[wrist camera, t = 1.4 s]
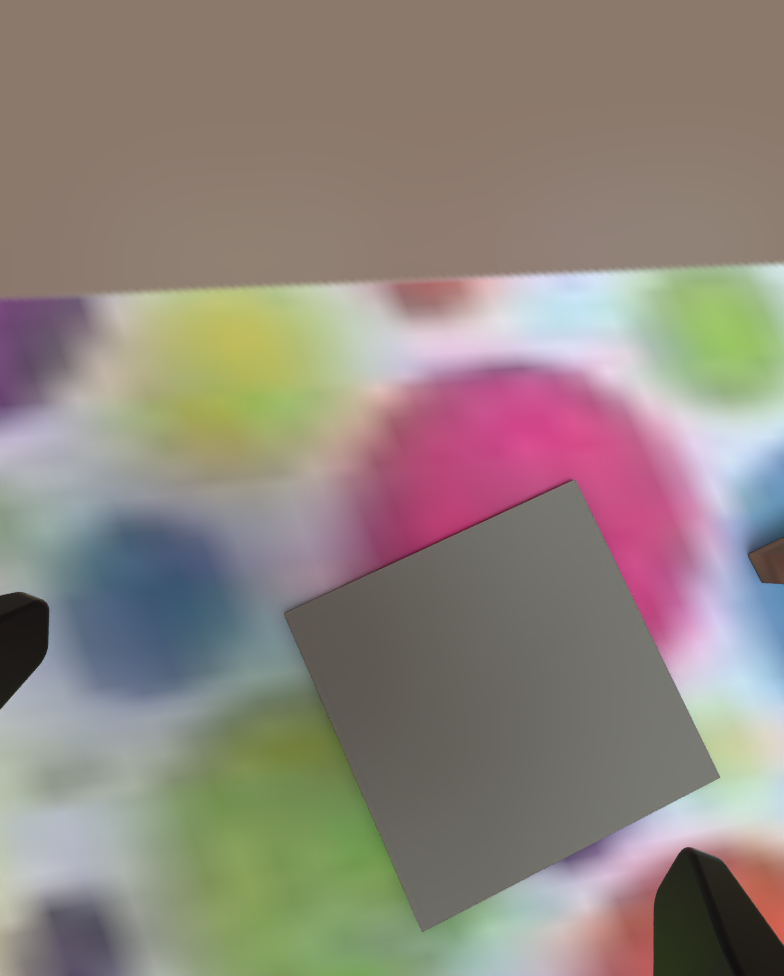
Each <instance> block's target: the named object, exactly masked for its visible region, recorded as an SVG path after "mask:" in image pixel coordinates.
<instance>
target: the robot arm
mask: <svg viewBox="0 0 784 976" xmlns="http://www.w3.org/2000/svg"><path fill="white" fill-rule="evenodd" d="M48 635H49V607H48V604H47V602H45V601H44V600H42V599H40V598H37V597H35V596H32V595H29V594H27V593H23V592H15V593H10V594H6V595H1V596H0V709H1V708H2V707H3V706H4V705H5V704H6V702H7V701H8V700H9V699H10V698H11V697H12V696H13V695H14V693H15V692H16V691H17V690H18V689H19V688H20V687H21V685H22V684H23V683H24V682H25V681H26V680H27V679H28V677H29V676H30V675H31V674H32V673H33V672H34V671H35V670H36V668H37V667H38V666H39V665H40V664H41V662H42V661H43V659H44V657H45V655H46V652H47V649H48ZM653 976H784V945H783V944H782V942H781V941H780V940H779V938H778V937H777V935H776V934H775V933H774V931H773V930H772V929H771V927H770V926H769V924H768V923H767V922H766V920H765V919H764V917H763V916H762V915H761V913H760V912H759V910H758V909H757V908H756V906H755V905H754V903H753V902H752V901H751V899H750V898H749V897H748V895H747V894H746V892H745V891H744V890H743V888H742V887H741V885H740V884H739V883H738V881H737V880H736V878H735V877H734V876H733V874H732V873H731V871H730V870H729V869H728V867H727V866H726V865H725V864H724V862H723V861H721V860H720V859H719V858H717V857H715V856H712V855H710V854H707V853H705V852H702V851H699V850H697V849H694V848H691V847H687V848H684V849H683V850H681V852H680V853H679V854H678V856H677V858H676V859H675V861H674V863H673V864H672V866H671V868H670V869H669V871H668V873H667V874H666V876H665V878H664V879H663V881H662V883H661V885H660V886H659V888H658V890H657V893H656V897H655V902H654V934H653Z"/></svg>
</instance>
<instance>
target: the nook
mask: <svg viewBox="0 0 784 976" xmlns="http://www.w3.org/2000/svg"><path fill="white" fill-rule="evenodd" d="M748 556H749V558H750V560H751V562H752V564H753V566H754V568H755V570H756V572H757V574H758V575H759V577H760V579H761V581H762V583H773V584H784V537H783V538H780V539H778V540H776V541H774V542H772V543H770V544H768V545H766V546H764V547H762V548H760V549H758V550H756V551H754V552H752V553H750V554H748Z"/></svg>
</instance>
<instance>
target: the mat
mask: <svg viewBox="0 0 784 976" xmlns="http://www.w3.org/2000/svg"><path fill="white" fill-rule="evenodd" d="M284 615H285V618H286V620H287V622H288V625H289V627H290V629H291V632H292V634H293V636H294V638H295V641H296V643H297V645H298V648H299V650H300V652H301V655H302V657H303V659H304V661H305V664H306V666H307V668H308V671H309V673H310V675H311V678H312V680H313V682H314V684H315V687H316V689H317V691H318V694H319V696H320V698H321V701H322V703H323V705H324V707H325V710H326V712H327V714H328V717H329V719H330V721H331V724H332V726H333V728H334V730H335V733H336V735H337V737H338V740H339V742H340V744H341V747H342V749H343V751H344V753H345V756H346V758H347V760H348V763H349V765H350V767H351V770H352V772H353V774H354V777H355V779H356V781H357V783H358V786H359V788H360V790H361V793H362V795H363V797H364V800H365V802H366V804H367V806H368V809H369V811H370V813H371V816H372V818H373V820H374V823H375V825H376V827H377V829H378V832H379V834H380V836H381V839H382V841H383V843H384V846H385V848H386V850H387V852H388V855H389V857H390V859H391V862H392V864H393V866H394V869H395V871H396V873H397V875H398V878H399V880H400V882H401V885H402V887H403V889H404V892H405V894H406V896H407V898H408V901H409V903H410V905H411V908H412V910H413V912H414V915H415V917H416V919H417V921H418V924H419V926H420V928H421V931H422V932H424V931H425V930H427V929H429V928H431V927H433V926H435V925H437V924H439V923H441V922H443V921H445V920H447V919H449V918H451V917H452V916H454V915H456V914H458V913H460V912H462V911H464V910H466V909H468V908H470V907H472V906H474V905H476V904H478V903H479V902H481V901H483V900H485V899H487V898H489V897H491V896H493V895H495V894H497V893H499V892H501V891H503V890H505V889H506V888H508V887H510V886H512V885H514V884H516V883H518V882H520V881H522V880H524V879H526V878H528V877H530V876H531V875H533V874H535V873H537V872H539V871H541V870H543V869H545V868H547V867H549V866H551V865H553V864H555V863H557V862H558V861H560V860H562V859H564V858H566V857H568V856H570V855H572V854H574V853H576V852H578V851H580V850H582V849H584V848H585V847H587V846H589V845H591V844H593V843H595V842H597V841H599V840H601V839H603V838H605V837H607V836H609V835H610V834H612V833H614V832H616V831H618V830H620V829H622V828H624V827H626V826H628V825H630V824H632V823H634V822H636V821H637V820H639V819H641V818H643V817H645V816H647V815H649V814H651V813H653V812H655V811H657V810H659V809H661V808H663V807H664V806H666V805H668V804H670V803H672V802H674V801H676V800H678V799H680V798H682V797H684V796H686V795H688V794H690V793H691V792H693V791H695V790H697V789H699V788H701V787H703V786H705V785H707V784H709V783H711V782H713V781H715V780H716V779H718V778H720V776H719V774H718V772H717V770H716V768H715V765H714V763H713V761H712V759H711V757H710V755H709V753H708V751H707V749H706V747H705V745H704V743H703V741H702V739H701V737H700V735H699V733H698V731H697V729H696V726H695V724H694V722H693V720H692V718H691V716H690V714H689V712H688V710H687V708H686V706H685V704H684V702H683V700H682V698H681V696H680V694H679V692H678V690H677V687H676V685H675V683H674V681H673V679H672V677H671V675H670V673H669V671H668V669H667V667H666V665H665V663H664V661H663V659H662V657H661V655H660V653H659V651H658V648H657V646H656V644H655V642H654V640H653V638H652V636H651V634H650V632H649V630H648V628H647V626H646V624H645V622H644V620H643V618H642V616H641V614H640V611H639V609H638V607H637V605H636V603H635V601H634V599H633V597H632V595H631V593H630V591H629V589H628V587H627V585H626V583H625V581H624V579H623V577H622V575H621V572H620V570H619V568H618V566H617V564H616V562H615V560H614V558H613V556H612V554H611V552H610V550H609V548H608V546H607V544H606V542H605V540H604V538H603V536H602V533H601V531H600V529H599V527H598V525H597V523H596V521H595V519H594V517H593V515H592V513H591V511H590V509H589V507H588V505H587V503H586V501H585V499H584V497H583V494H582V492H581V490H580V488H579V486H578V484H577V482H576V480H572V481H570V482H568V483H566V484H563V485H561V486H559V487H557V488H555V489H553V490H550V491H548V492H546V493H544V494H542V495H540V496H537V497H535V498H533V499H531V500H529V501H527V502H524V503H522V504H520V505H518V506H516V507H514V508H511V509H509V510H507V511H505V512H503V513H501V514H498V515H496V516H494V517H492V518H490V519H488V520H485V521H483V522H481V523H479V524H477V525H475V526H472V527H470V528H468V529H466V530H464V531H462V532H459V533H457V534H455V535H453V536H451V537H449V538H446V539H444V540H442V541H440V542H438V543H436V544H433V545H431V546H429V547H427V548H425V549H423V550H420V551H418V552H416V553H414V554H412V555H410V556H407V557H405V558H403V559H401V560H399V561H397V562H394V563H392V564H390V565H388V566H386V567H384V568H381V569H379V570H377V571H375V572H373V573H371V574H368V575H366V576H364V577H362V578H360V579H358V580H355V581H353V582H351V583H349V584H347V585H344V586H342V587H340V588H338V589H336V590H334V591H331V592H329V593H327V594H325V595H323V596H321V597H318V598H316V599H314V600H312V601H310V602H308V603H305V604H303V605H301V606H299V607H297V608H295V609H292V610H290V611H288V612H286V613H284Z"/></svg>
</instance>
